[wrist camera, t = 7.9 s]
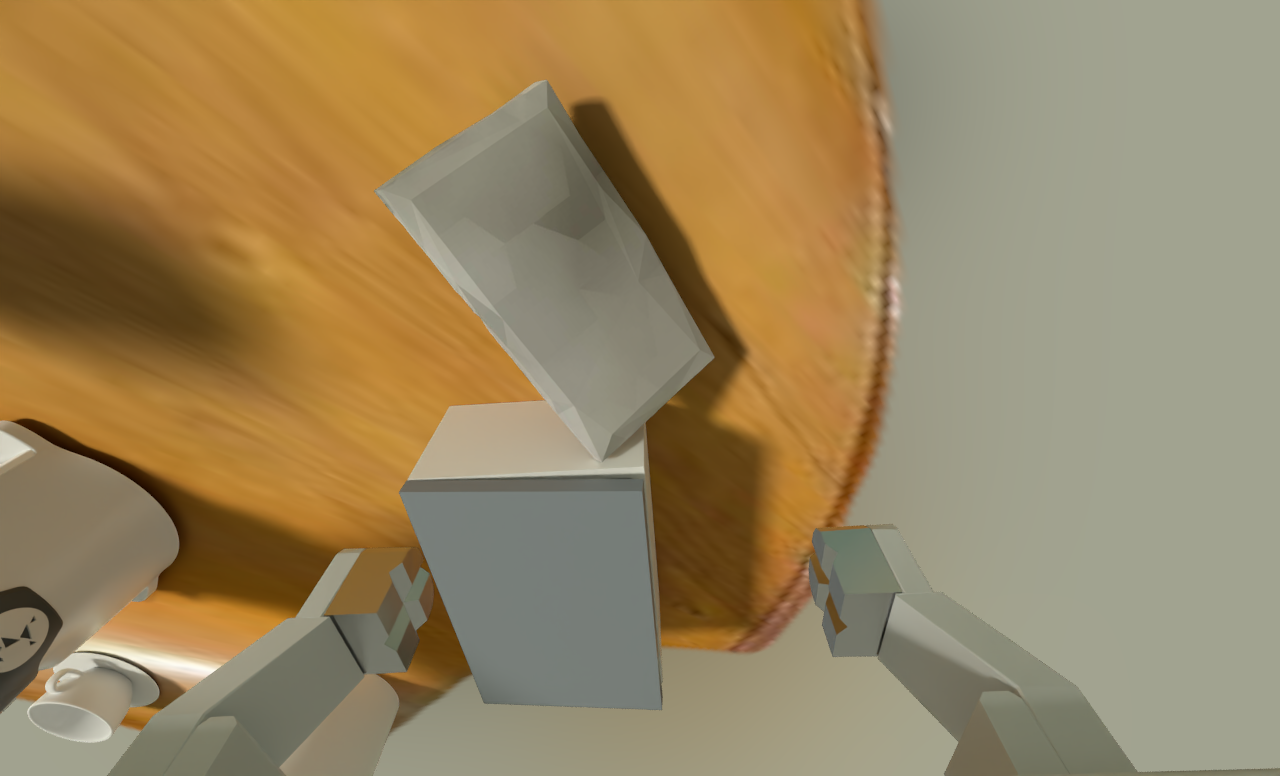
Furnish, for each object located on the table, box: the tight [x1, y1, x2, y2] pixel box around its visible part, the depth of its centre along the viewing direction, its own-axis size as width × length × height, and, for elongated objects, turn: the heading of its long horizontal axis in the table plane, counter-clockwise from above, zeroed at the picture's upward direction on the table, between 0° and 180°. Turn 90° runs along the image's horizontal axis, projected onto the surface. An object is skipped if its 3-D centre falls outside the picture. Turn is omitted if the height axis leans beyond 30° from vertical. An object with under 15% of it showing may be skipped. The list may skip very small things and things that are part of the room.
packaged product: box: [374, 80, 715, 462], centre depth 30 cm, size 18×5×10 cm
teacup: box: [27, 653, 160, 742], centre depth 54 cm, size 10×10×5 cm
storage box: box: [408, 400, 662, 683], centre depth 40 cm, size 14×22×8 cm, turn 4°
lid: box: [399, 479, 662, 710], centre depth 35 cm, size 14×22×1 cm, turn 4°
